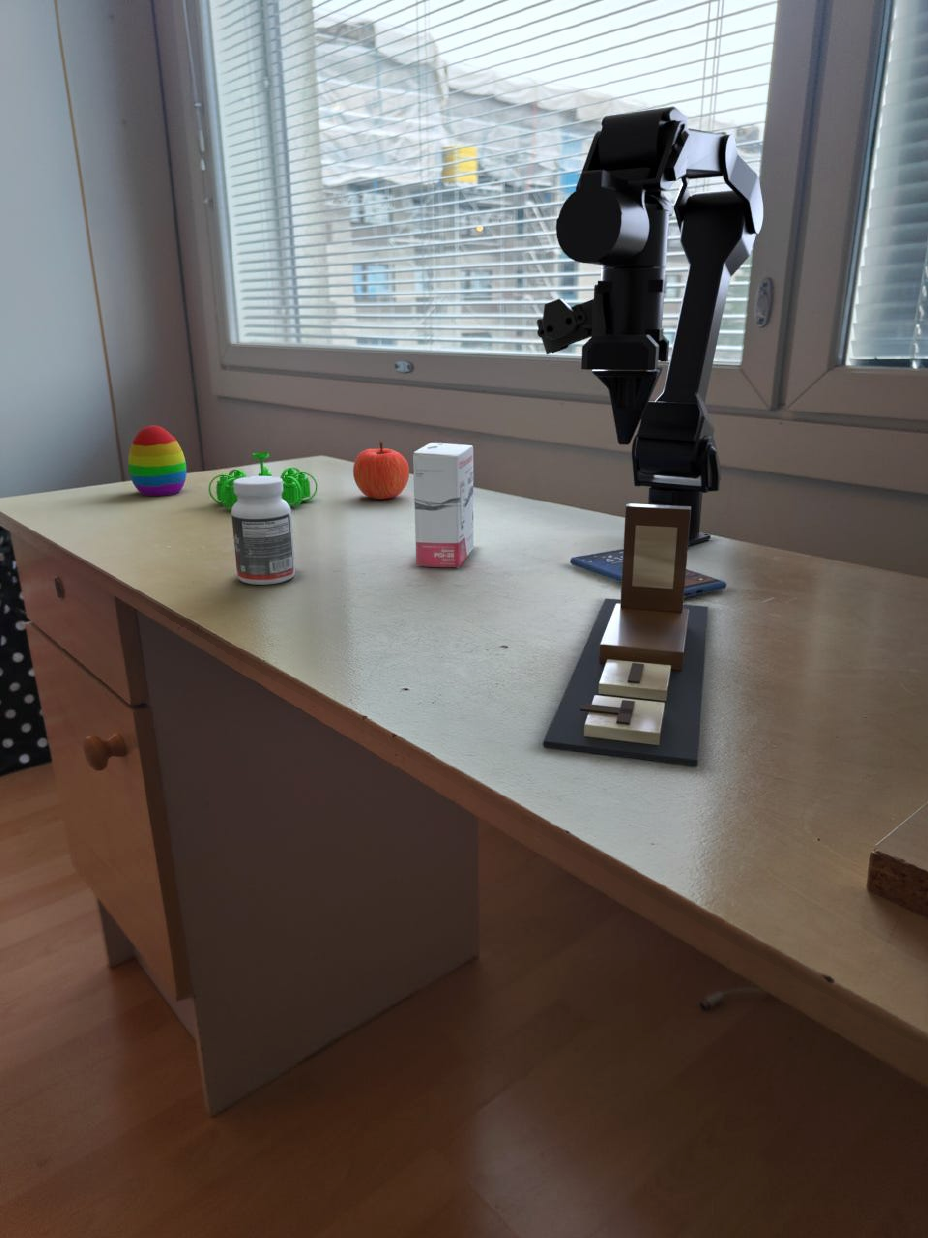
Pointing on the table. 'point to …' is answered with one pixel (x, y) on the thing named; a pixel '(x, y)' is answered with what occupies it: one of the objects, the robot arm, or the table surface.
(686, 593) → the smartphone
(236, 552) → the pill bottle
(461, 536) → the ink box
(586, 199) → the robot arm
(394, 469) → the apple
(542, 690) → the table surface
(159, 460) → the decorative egg
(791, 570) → the table surface
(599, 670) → the word mat
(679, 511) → the brown picture frame
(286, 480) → the chandelier
